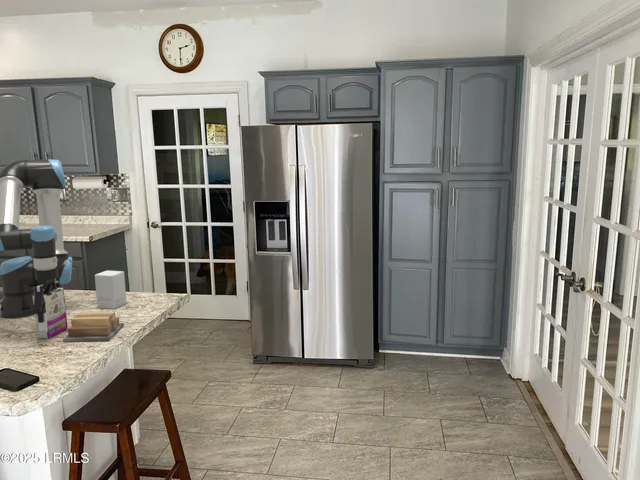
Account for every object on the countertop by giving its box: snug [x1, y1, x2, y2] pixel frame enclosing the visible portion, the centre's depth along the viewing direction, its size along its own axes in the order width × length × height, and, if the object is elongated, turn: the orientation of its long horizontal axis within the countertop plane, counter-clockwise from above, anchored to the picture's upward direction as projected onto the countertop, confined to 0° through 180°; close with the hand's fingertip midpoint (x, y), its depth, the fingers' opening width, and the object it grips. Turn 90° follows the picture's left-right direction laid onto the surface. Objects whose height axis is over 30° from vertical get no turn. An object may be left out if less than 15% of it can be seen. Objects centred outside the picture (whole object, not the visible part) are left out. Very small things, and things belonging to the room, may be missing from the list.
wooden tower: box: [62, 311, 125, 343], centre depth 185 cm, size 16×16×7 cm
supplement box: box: [94, 270, 127, 310], centre depth 219 cm, size 9×9×15 cm
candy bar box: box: [32, 287, 69, 340], centre depth 185 cm, size 11×5×16 cm, turn 171°
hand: (51, 324), depth 185 cm, fingers closed on candy bar box, 12 cm apart
